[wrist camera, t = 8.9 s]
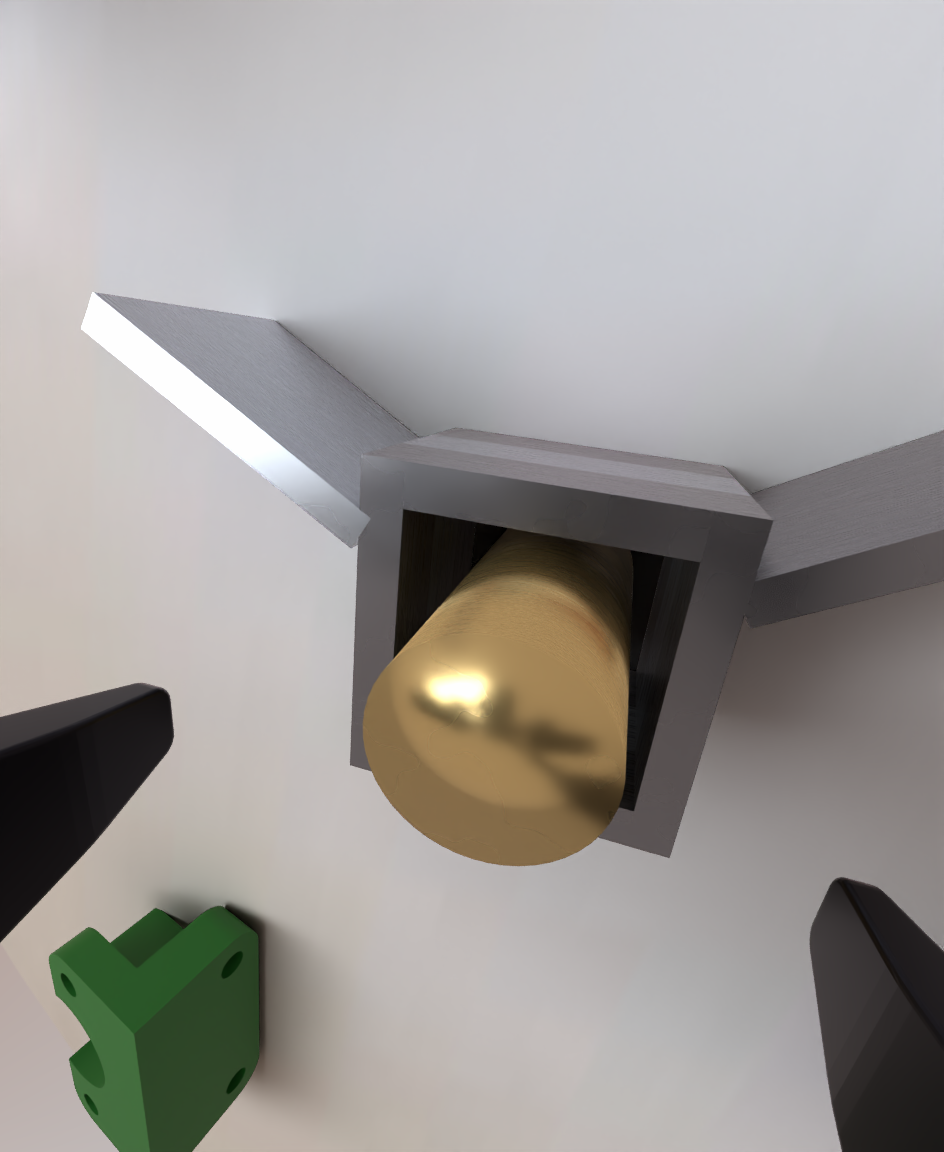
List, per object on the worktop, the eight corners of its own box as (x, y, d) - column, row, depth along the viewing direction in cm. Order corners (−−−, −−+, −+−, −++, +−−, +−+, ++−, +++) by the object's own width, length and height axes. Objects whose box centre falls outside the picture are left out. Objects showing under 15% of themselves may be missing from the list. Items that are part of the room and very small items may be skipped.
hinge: (1051, 404, 12) (1378, 426, 7) (890, 758, 16) (1022, 960, 10) (261, 318, 17) (75, 290, 11) (268, 612, 20) (129, 700, 15)
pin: (647, 515, 15) (654, 671, 7) (617, 644, 17) (595, 898, 9) (504, 491, 16) (368, 607, 8) (488, 617, 18) (358, 823, 10)
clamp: (233, 836, 31) (58, 900, 23) (313, 893, 29) (149, 988, 21) (165, 1041, 31) (-34, 1178, 23) (239, 1116, 29) (45, 1300, 21)
